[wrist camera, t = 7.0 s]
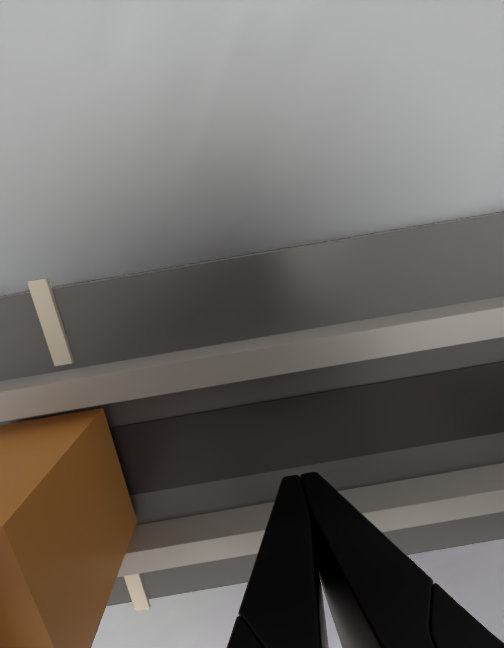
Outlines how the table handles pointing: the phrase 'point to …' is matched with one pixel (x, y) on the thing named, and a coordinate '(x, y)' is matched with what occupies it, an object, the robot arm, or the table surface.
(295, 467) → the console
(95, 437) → the fader cap
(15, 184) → the table surface
